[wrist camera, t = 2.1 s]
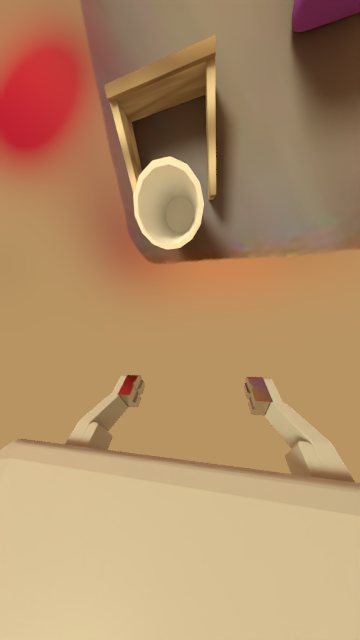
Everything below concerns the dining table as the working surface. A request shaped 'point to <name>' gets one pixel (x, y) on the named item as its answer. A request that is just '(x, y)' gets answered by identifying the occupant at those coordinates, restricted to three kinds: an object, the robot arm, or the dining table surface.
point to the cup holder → (166, 99)
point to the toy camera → (321, 12)
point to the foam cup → (168, 203)
